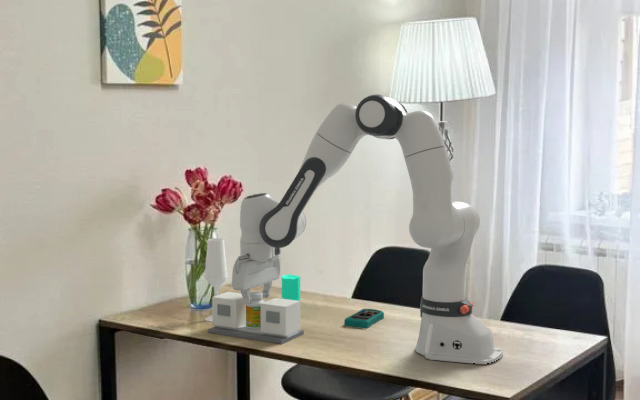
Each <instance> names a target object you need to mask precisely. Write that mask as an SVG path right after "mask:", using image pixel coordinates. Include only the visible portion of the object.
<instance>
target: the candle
mask: <svg viewBox="0 0 640 400" xmlns="http://www.w3.org/2000/svg"><path fill="white" fill-rule="evenodd" d="M281 299H288V300H296V301H300V302H301V276H299V275H296V274H295V275H294V274H291V273H289V274H283V275H281Z"/></svg>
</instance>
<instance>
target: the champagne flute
mask: <svg viewBox="0 0 640 400" xmlns="http://www.w3.org/2000/svg"><path fill="white" fill-rule="evenodd" d="M225 245H226V244H225V239H224V238H218V237H217V238H216V237H215V238H207V247H206V257H205V266H204V267H205V270H204V279H205V281H207V283H208V284H209V285H210V286H211V287H213V297H214V296H217V295H219V287H221V285H223V283H224V282H225V281H226V280H227V279H228V268H227V267H228V266H227V258H226V250H225V249H226V247H225ZM204 321H206V322H211V323H212V314H210V315H209V316H207V317H206V318H204Z"/></svg>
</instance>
